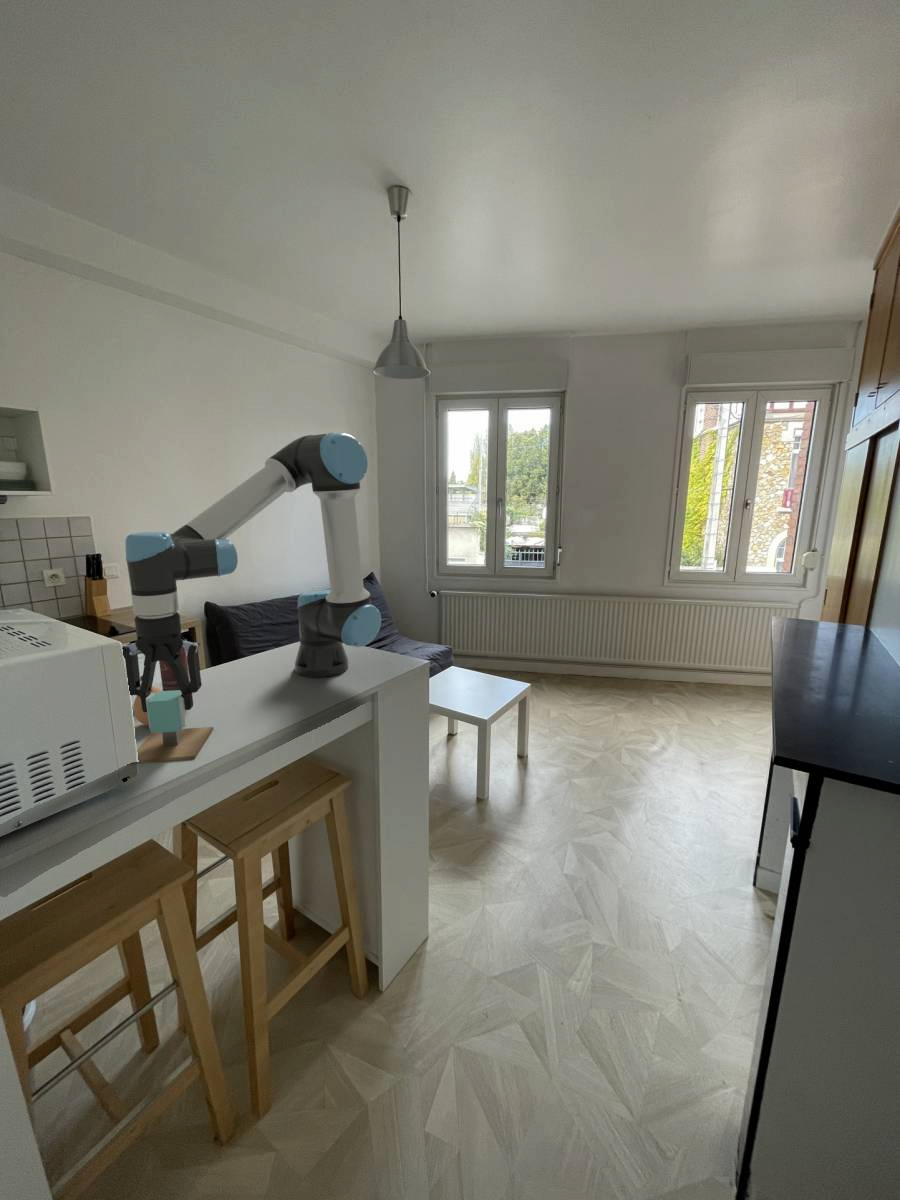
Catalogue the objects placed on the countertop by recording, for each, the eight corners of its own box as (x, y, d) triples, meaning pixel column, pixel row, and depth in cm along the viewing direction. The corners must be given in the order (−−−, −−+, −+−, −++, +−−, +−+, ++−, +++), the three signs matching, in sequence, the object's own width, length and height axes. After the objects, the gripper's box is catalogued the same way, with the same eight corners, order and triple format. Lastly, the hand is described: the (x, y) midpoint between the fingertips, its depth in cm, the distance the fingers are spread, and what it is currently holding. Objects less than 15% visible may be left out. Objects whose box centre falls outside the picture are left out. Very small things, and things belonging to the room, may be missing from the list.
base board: (213, 729, 107) (213, 726, 107) (194, 758, 96) (194, 756, 96) (154, 733, 105) (153, 730, 105) (127, 763, 94) (127, 760, 94)
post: (182, 739, 102) (178, 710, 100) (177, 745, 99) (174, 716, 98) (168, 739, 101) (165, 711, 100) (163, 746, 99) (160, 717, 98)
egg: (152, 716, 113) (147, 679, 111) (178, 719, 112) (173, 682, 110) (128, 730, 107) (122, 691, 104) (155, 733, 105) (150, 694, 103)
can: (179, 698, 123) (173, 645, 119) (157, 696, 124) (150, 643, 121) (196, 688, 128) (191, 637, 125) (175, 686, 130) (169, 635, 126)
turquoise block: (188, 719, 102) (185, 689, 101) (179, 731, 97) (175, 700, 96) (161, 721, 101) (157, 691, 100) (150, 733, 96) (146, 701, 95)
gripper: (213, 608, 99) (223, 714, 104) (114, 610, 96) (129, 719, 102) (201, 617, 92) (212, 730, 97) (94, 620, 89) (111, 736, 94)
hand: (170, 724), depth 99 cm, fingers closed on turquoise block, 5 cm apart
